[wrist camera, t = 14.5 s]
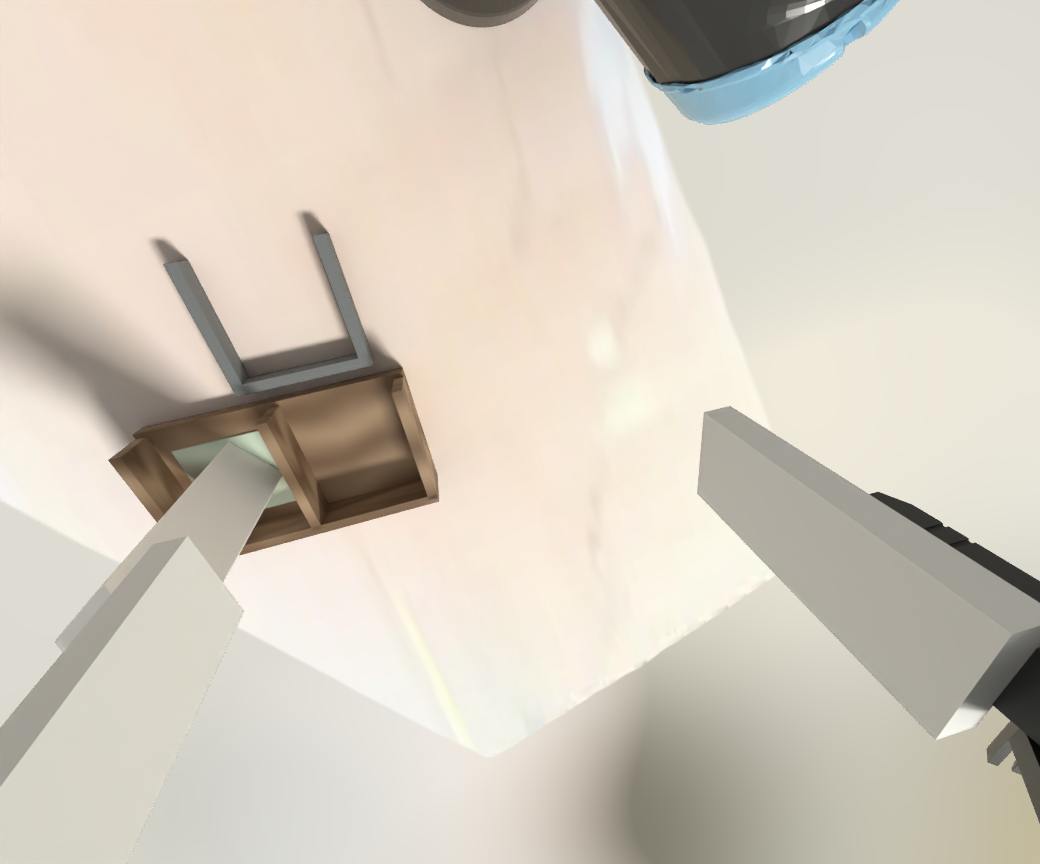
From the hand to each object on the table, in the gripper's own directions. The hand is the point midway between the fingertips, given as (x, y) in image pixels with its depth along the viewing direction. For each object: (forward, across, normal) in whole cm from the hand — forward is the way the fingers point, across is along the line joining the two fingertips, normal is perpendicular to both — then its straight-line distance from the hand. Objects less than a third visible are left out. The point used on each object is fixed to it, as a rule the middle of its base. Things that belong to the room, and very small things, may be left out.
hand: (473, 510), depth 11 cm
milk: (+32, -25, -14) cm, 43 cm away
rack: (+34, -19, -14) cm, 41 cm away
